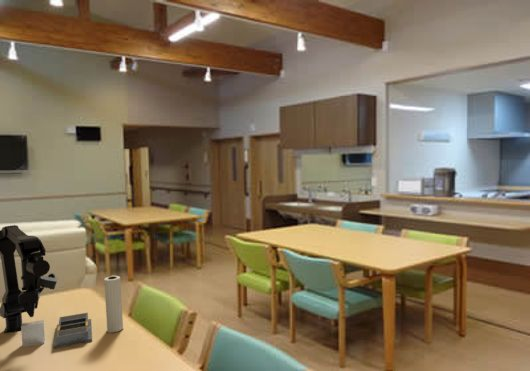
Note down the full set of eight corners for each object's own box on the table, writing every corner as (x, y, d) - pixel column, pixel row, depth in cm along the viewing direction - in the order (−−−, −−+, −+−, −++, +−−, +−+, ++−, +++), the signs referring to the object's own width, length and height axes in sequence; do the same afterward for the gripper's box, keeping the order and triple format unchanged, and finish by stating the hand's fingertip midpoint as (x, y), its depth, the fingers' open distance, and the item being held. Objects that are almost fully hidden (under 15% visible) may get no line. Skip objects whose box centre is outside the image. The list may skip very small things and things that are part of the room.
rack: (57, 327, 167) (56, 317, 167) (91, 321, 172) (90, 311, 172) (53, 348, 148) (52, 337, 148) (92, 341, 153) (91, 330, 153)
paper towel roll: (117, 333, 160) (114, 280, 158) (104, 332, 161) (100, 279, 159) (127, 325, 167) (124, 274, 165) (114, 324, 168) (111, 274, 166)
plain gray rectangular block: (23, 344, 153) (22, 323, 152) (44, 340, 155) (43, 319, 155) (22, 347, 150) (21, 326, 149) (44, 343, 153) (42, 322, 152)
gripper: (52, 275, 145) (55, 317, 146) (57, 262, 162) (60, 301, 163) (16, 279, 141) (19, 323, 142) (25, 266, 158) (28, 305, 159)
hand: (33, 312), depth 152 cm, fingers open, 9 cm apart
